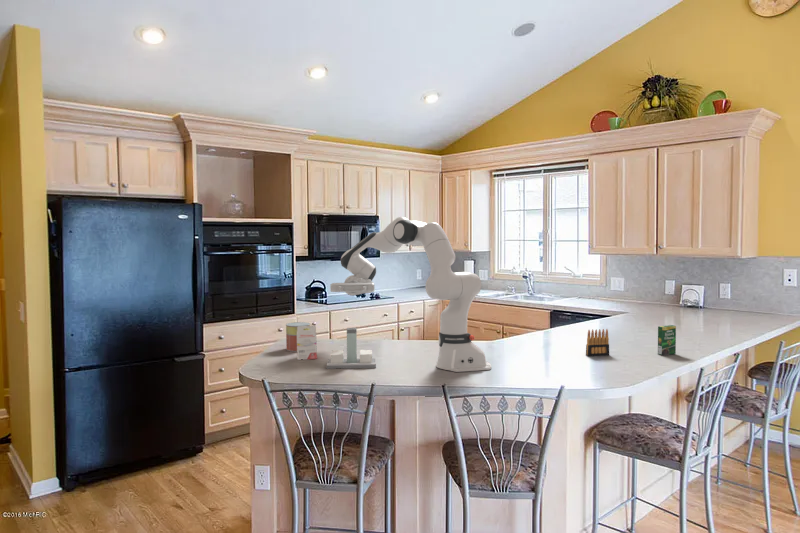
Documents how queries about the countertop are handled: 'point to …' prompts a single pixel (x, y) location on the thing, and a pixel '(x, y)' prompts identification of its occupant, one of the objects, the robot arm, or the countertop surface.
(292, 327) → the canned food
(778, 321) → the countertop surface
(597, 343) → the ammunition clip
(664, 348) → the coffee box
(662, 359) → the countertop surface
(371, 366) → the mounting board
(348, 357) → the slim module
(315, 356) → the ink cartridge box
